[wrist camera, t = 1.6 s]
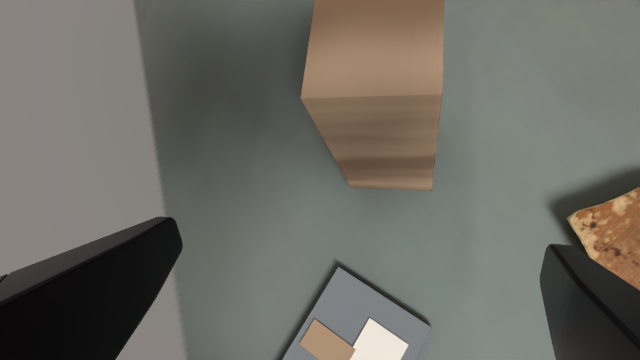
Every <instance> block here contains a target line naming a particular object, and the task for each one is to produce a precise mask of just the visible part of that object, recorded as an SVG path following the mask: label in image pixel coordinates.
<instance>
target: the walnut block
mask: <svg viewBox="0 0 640 360" xmlns="http://www.w3.org/2000/svg"><path fill="white" fill-rule="evenodd" d="M443 27H444V0H315V3H314V10H313V17H312V24H311V30H310V37H309V44H308V51H307V57H306V64H305V71H304V78H303V85H302V91H301V98H300V99H301V100H302V102H303V104H304V106H305V108H306V109H307V111H308V113H309V115H310V116H311V118H312V120H313V122H314V123H315V125H316V127H317V129H318V130H319V132H320V134H321V136H322V138H323V139H324V141H325V143H326V145H327V146H328V148H329V150H330V152H331V153H332V155H333V157H334V159H335V161H336V162H337V164H338V166H339V168H340V169H341V171H342V173H343V175H344V176H345V178H346V180H347V182H348V184H349V185H350V187H352V188H379V189H406V190H432V183H433V174H434V165H435V156H436V147H437V138H438V129H439V120H440V111H441V102H442V88H443Z"/></svg>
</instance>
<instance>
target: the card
mask: <svg viewBox="0 0 640 360" xmlns="http://www.w3.org/2000/svg"><path fill="white" fill-rule="evenodd" d="M431 329H432V327H430V326H429V325H427V324H426V323H424V322H423V321H421V320H419V319H418V318H416V317H415V316H413V315H412V314H410V313H409V312H407V311H406V310H404V309H403V308H401V307H400V306H398V305H397V304H395V303H393V302H392V301H390V300H389V299H387V298H386V297H384V296H383V295H381V294H380V293H378V292H377V291H375V290H374V289H372V288H370V287H369V286H367V285H366V284H364V283H363V282H361V281H360V280H358V279H357V278H355V277H354V276H352V275H351V274H349V273H347V272H346V271H344V270H343V269H341V268H340V267H338V268H337V270H336V272H335V273H334V275H333V277H332V278H331V280H330V281H329V283H328V285H327V286H326V288H325V290H324V291H323V293H322V295H321V296H320V298H319V300H318V301H317V303H316V305H315V306H314V308H313V310H312V311H311V313H310V315H309V316H308V318H307V319H306V321H305V323H304V324H303V326H302V328H301V329H300V331H299V333H298V334H297V336H296V338H295V339H294V341H293V343H292V344H291V346H290V348H289V349H288V351H287V352H286V354H285V356H284V357H283V359H282V360H415V358H416V356H417V355H418V353H419V351H420V349H421V347H422V345H423V344H424V342H425V340H426V338H427V336H428V334H429V333H430V331H431Z"/></svg>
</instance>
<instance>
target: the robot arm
mask: <svg viewBox="0 0 640 360" xmlns="http://www.w3.org/2000/svg"><path fill="white" fill-rule="evenodd" d="M182 246H183V244H182V239H181V236H180V233H179V230H178V226H177V223H176V221H175V220H174V219H173V218H171V217H156V218H153V219H151V220H148V221H145V222H143V223H140V224H138V225H135V226H132V227H130V228H127V229H124V230H122V231H119V232H116V233H114V234H112V235H109V236H106V237H103V238H101V239H98V240H96V241H93V242H90V243H88V244H85V245H82V246H80V247H77V248H74V249H72V250H69V251H67V252H64V253H61V254H59V255H56V256H53V257H51V258H48V259H45V260H43V261H40V262H37V263H35V264H32V265H30V266H27V267H24V268H22V269H19V270H16V271H14V272H11V273H10V274H9V275H7V274H6V275H3V276H0V360H115V359H116V358H117V356H118V355H119V353H120V352H121V350H122V349H123V347H124V346H125V344H126V343H127V341H128V340H129V338H130V337H131V335H132V334H133V332H134V331H135V329H136V328H137V326H138V325H139V323H140V322H141V320H142V319H143V317H144V316H145V314H146V313H147V311H148V310H149V308H150V307H151V305H152V303H153V302H154V300H155V299H156V297H157V295H158V293H159V292H160V290H161V288H162V286H163V284H164V283H165V281H166V279H167V277H168V275H169V273H170V271H171V270H172V268H173V266H174V264H175V262H176V260H177V258H178V257H179V255H180V253H181V251H182ZM540 287H541V292H542V297H543V302H544V306H545V311H546V316H547V321H548V326H549V330H550V335H551V340H552V345H553V349H554V353H555V357H556V360H640V290H639V289H637V288H636V287H634V286H633V285H631V284H630V283H628V282H626V281H625V280H623V279H622V278H620V277H619V276H617V275H616V274H614V273H613V272H611V271H610V270H608V269H607V268H605V267H604V266H602V265H601V264H599V263H598V262H596V261H595V260H593V259H592V258H590V257H589V256H587V255H586V254H584V253H582V252H581V251H579V250H578V249H576V248H575V247H573V246H571V245H561V244H550V245H548V246H547V248H546V251H545V255H544V260H543V265H542V269H541V274H540Z"/></svg>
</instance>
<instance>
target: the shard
mask: <svg viewBox="0 0 640 360" xmlns="http://www.w3.org/2000/svg"><path fill="white" fill-rule="evenodd" d="M567 220H568V222H569V223H570V225H571V227H572V229H573V230H574V231H575V233H576V234H577V235H578V237H579V239H580V241H581V243H582V244H583V245H584V248H585V250H586V251H587V253H588V255H589V257H590V258H592V259H593V260H595V261H596V262H598V263H599V264H601V265H602V266H604V267H605V268H607V269H608V270H610V271H611V272H613V273H614V274H616V275H617V276H619V277H620V278H622V279H623V280H625V281H626V282H628V283H630V284H631V285H633V286H634V287H636V288H637V289H639V290H640V187H639V188H636V189H634V190H632V191H630V192H628V193H626V194H624V195H621V196H619V197H617V198H615V199H613V200H610V201H607V202H605V203H603V204H599V205H595V206H593V207H588V208H585V209H581V210H579V211H576V212H574V213H573V214H572V215H571V216H569V217H567Z"/></svg>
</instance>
